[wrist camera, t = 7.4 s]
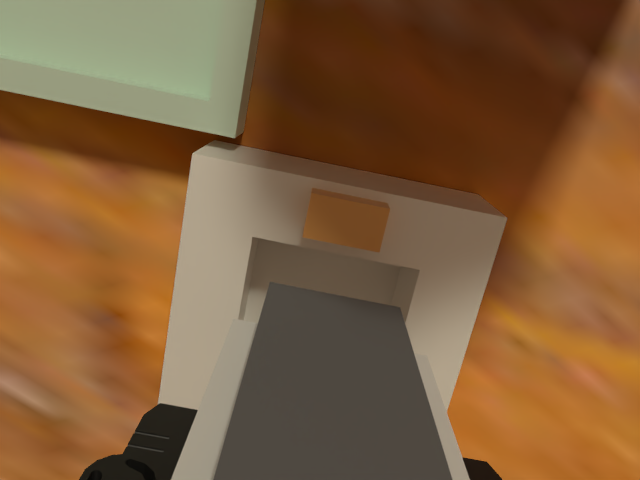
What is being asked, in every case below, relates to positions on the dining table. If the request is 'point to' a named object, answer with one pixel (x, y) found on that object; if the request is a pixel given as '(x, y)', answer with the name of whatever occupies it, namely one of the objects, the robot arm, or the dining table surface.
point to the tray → (136, 57)
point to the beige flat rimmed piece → (322, 255)
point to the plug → (331, 396)
